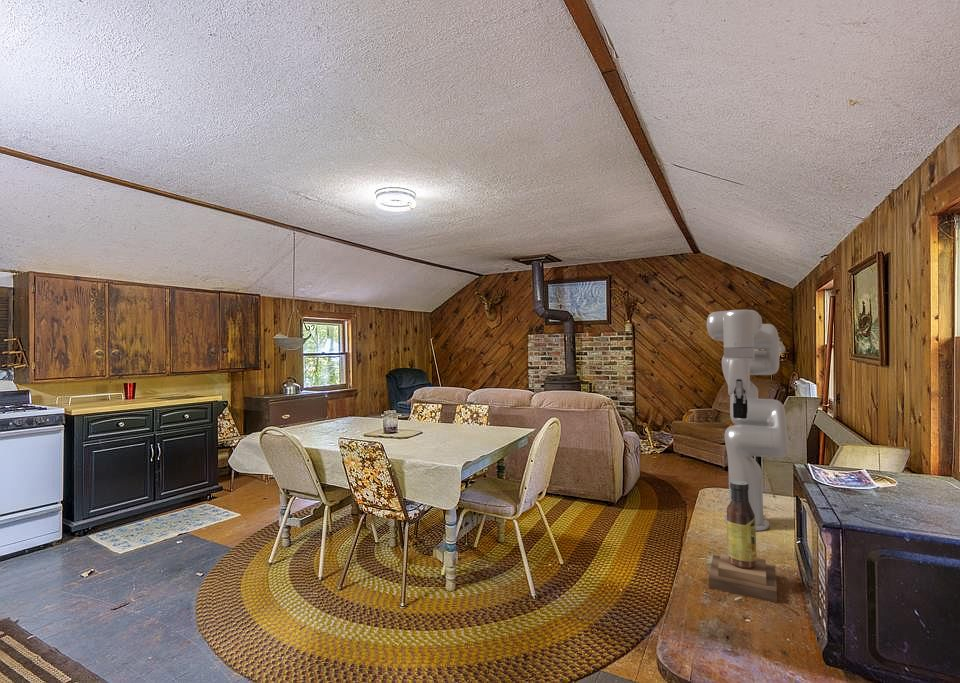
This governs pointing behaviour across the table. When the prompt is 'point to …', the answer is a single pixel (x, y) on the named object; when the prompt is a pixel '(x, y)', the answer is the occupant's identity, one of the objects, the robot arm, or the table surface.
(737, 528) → the sauce bottle
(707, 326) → the robot arm
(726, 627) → the table surface
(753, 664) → the table surface
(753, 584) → the pedestal
